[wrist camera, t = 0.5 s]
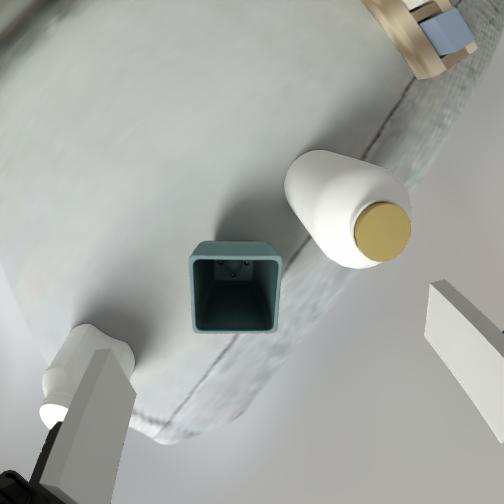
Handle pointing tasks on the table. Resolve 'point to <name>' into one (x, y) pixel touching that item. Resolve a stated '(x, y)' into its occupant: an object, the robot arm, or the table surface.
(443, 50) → the blue short block
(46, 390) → the jar
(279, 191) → the table surface
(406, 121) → the table surface
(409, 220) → the potion bottle
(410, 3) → the white key
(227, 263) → the flower pot
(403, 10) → the wooden block holder
